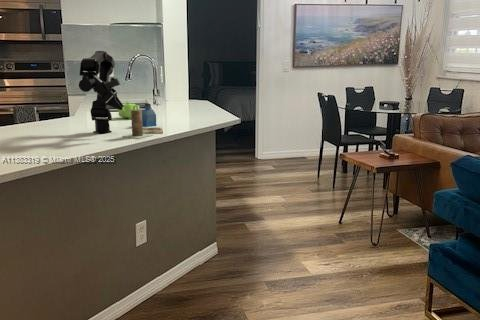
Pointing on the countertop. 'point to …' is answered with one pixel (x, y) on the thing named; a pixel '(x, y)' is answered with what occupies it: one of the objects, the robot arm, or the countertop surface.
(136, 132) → the walnut dowel
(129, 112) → the green cabbage
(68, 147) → the countertop surface
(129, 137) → the pad
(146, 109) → the perfume bottle
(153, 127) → the trap frame
